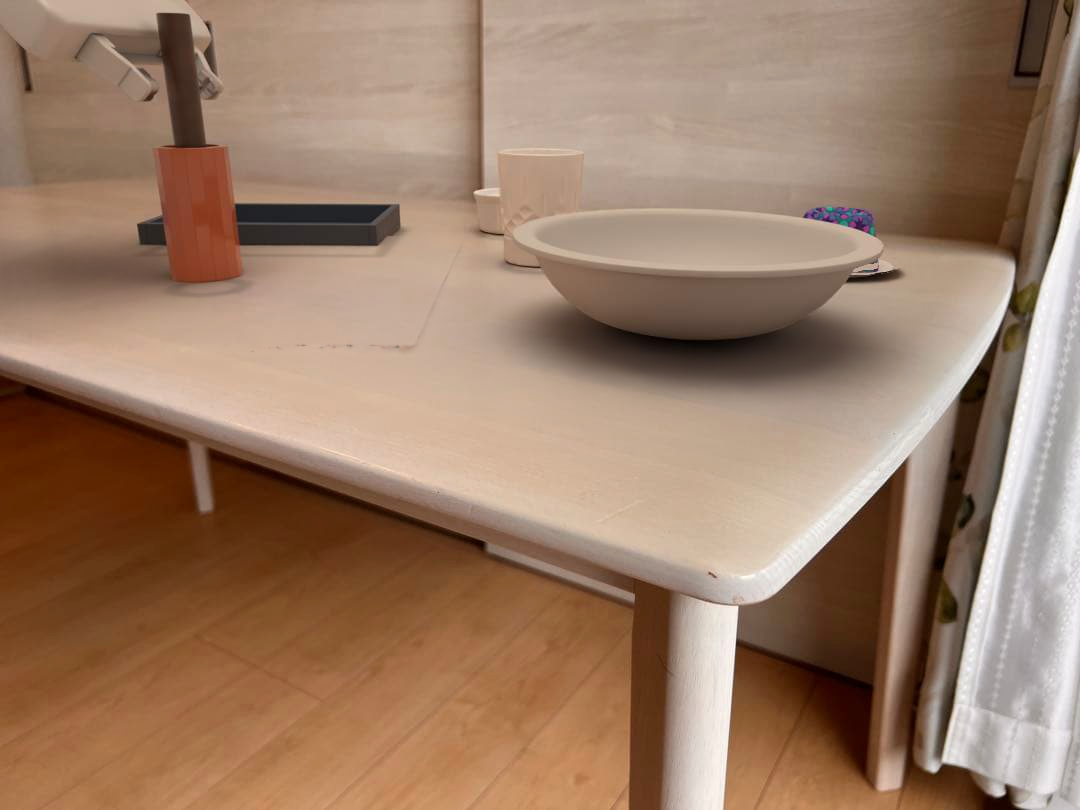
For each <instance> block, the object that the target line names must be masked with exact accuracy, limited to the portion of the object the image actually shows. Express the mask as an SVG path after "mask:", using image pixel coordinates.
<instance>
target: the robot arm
mask: <svg viewBox="0 0 1080 810" xmlns="http://www.w3.org/2000/svg"><path fill="white" fill-rule="evenodd" d="M156 13H185V14H190V18H191V26H192V34H193V42H194V50H195V58H196V66H197V74H198V82H199V90H200V98H201V100H204V101H216V100H217V99H218V98H219V97H220V96H221V94H222V93H223V92H224V90H225V85H224V82H223V81H221V79H220V78H219V77H218V76H217V75H216V74H215V73H214V72H213V71H212V69H211V67H210V65H209V63H208V61H207V59H206V57H205V55H204V53H205V52H206V50H207V49H208V47H209V46H210V44H211V42H212V35H211V33H210V30H209V29H208V26H207V25H206V24H205V22H204V21H203V19H202V18H201V17H200V16H199V15H198V13H197V12H196V11H195V10H194V9H193V8H192V7H191V5H190V4H189V3H188V1H186V0H0V26H2V28H3V29H4V30H5V31H6V32H7V33H8V34H9V35H10V36H11V37H12V39H14V40H15V41H16V43H17V44H18V45H19V46H21V47H22V48H23V49H24V50H25V51H26V52H28V53H30V54H31V55H33V56H34V57H36V58H37V59H40V60H42V61H44V62H57V63H80V64H81V63H82V64H83V65H84V66H85V68H86V69H88V70H89V71H91V72H92V73H94V74H95V75H97V76H99V77H100V78H102V79H104V80H106V81H107V82H109V83H110V84H112V85H113V86H116V87H118V88H119V89H120V90H121V91H122V92H123V93H125V95H126V96H127V97H128V98H129V99H130V100H131V101H132V102H135V103H147V102H151V101H152V100H153V99H154V97H155V95H156V94H157V93H159V91H160V85H159V82H158V81H157V80H156V79H155V78H153V77H152V76H151V75H150V73H149V72H148V71H147V70H146V69H145V68H143V67H136V65H137V66H159V67H160V66H161V67H163V61H162V54H161V47H160V40H159V32H158V25H157V18H156Z"/></svg>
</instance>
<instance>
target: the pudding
mask: <svg viewBox="0 0 1080 810" xmlns="http://www.w3.org/2000/svg"><path fill="white" fill-rule="evenodd" d="M802 218H807V219H813V220H819V221H824V222H829V223H834V224H839V225H843V226H847V227H850V228H854V229H857V230H860V231H863V232H866V233H868V234H870V235H872V236H874V237H876V238H877V236H876V226H875V218H874V216H873V214H872V212H870V210H865V209H860V208H854V207H844V206H843V207H841V206H819V207H814V208H810V209H808V210H807V211H806V212H805V213H804V215H803V217H802ZM877 262H878V263H879V265H878V268H877V269H874V270H862V271H858V272H852V273H876V272H886V271H889V270H891V269H892V268H893V266H892V265H891V264H890V263H888V262H886V261H883V260H879V259H878V260H876V261H874V262H872V263H870V264H874V263H877ZM870 276H875V274H870V275H850V276H849V278H863V277H870Z"/></svg>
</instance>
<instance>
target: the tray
mask: <svg viewBox="0 0 1080 810" xmlns="http://www.w3.org/2000/svg"><path fill="white" fill-rule="evenodd" d="M235 210H236V219H237V227H238V236H239V244H240V246H317V247H318V246H321V247H324V246H327V247H329V246H333V247H334V246H337V247H339V246H340V247H341V246H342V247H378V246H379V245H380V244H381V243H382V242H383V241H384V240H385V239H386V237H393V236H394V234H395V233H396V232H397V231H398V230H399V229H400V228H401V225H402V224H401V207H400V203H298V202H297V203H295V202H294V203H288V202H287V203H285V202H284V203H283V202H282V203H280V202H278V203H277V202H274V203H273V202H272V203H271V202H268V203H267V202H265V203H263V202H235ZM136 227H137V234H138V239H139V244H140V246H141V245H145V246H146V245H150V246H153V245H155V246H157V245H158V246H159V245H162V246H167V243H166V237H165V230H164V223H163V216H162V214H159V215H158V216H155V217H152V218H150V219H146V220H143V221H141V222H138V223H136Z"/></svg>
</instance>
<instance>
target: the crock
mask: <svg viewBox="0 0 1080 810" xmlns="http://www.w3.org/2000/svg"><path fill="white" fill-rule="evenodd" d="M206 146H207V147H200V148H174V143H169V144H167V143H166V144H158V145H153V146H152V147H151V149H152V152H153V153H152V154H153V155H152V156H153V161H154V169H155V175H156V182H157V188H158V195H159V202H160V208H161V215H162V216H163V223H164V230H165V237H166V243H167V245H166V250H167V257H168V263H169V269H170V277H171V279H172V280H173V281H176V282H181V283H195V284H196V283H197V284H199V283H214V282H223V281H228V280H233V279H236V278H239V277H241V276H243V273H244V271H243V261H242V253H241V245H240V244H239V236H238V227H237V219H236V210H235V203H236V202H235V193H234V185H233V177H232V169H231V168H232V167H231V161H230V160H231V159H230V152H229V146H228V145H227V144H224V143H207V142H206Z"/></svg>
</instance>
